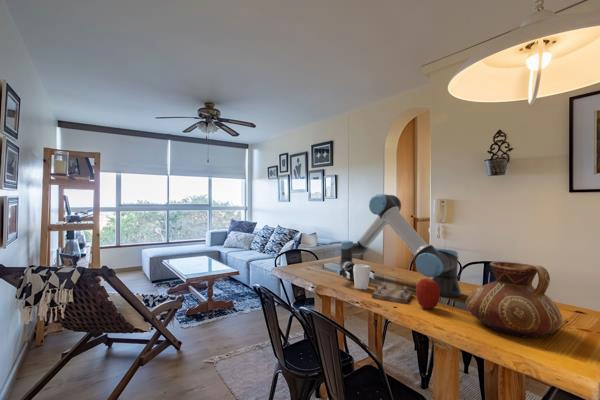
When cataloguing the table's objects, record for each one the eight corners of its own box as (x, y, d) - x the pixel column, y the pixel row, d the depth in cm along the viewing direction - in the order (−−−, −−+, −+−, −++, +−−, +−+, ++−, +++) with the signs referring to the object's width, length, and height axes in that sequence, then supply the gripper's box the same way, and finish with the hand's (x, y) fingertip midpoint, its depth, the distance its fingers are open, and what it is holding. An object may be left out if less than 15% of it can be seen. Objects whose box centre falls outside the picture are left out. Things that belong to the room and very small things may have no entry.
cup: (370, 286, 171) (370, 265, 171) (369, 290, 162) (369, 267, 162) (353, 285, 173) (354, 263, 174) (351, 289, 165) (352, 266, 165)
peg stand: (411, 295, 156) (412, 286, 156) (406, 303, 142) (406, 293, 142) (380, 290, 164) (380, 281, 164) (371, 297, 150) (372, 288, 150)
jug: (453, 323, 119) (455, 258, 120) (480, 308, 139) (481, 252, 140) (552, 352, 97) (554, 272, 98) (567, 329, 117) (568, 263, 118)
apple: (426, 312, 130) (427, 279, 131) (410, 305, 140) (410, 274, 140) (445, 310, 134) (446, 278, 135) (427, 303, 144) (428, 273, 144)
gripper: (370, 275, 190) (383, 283, 168) (330, 274, 187) (338, 283, 166) (370, 262, 190) (383, 269, 169) (330, 262, 187) (339, 269, 166)
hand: (361, 276), depth 167 cm, fingers open, 13 cm apart
